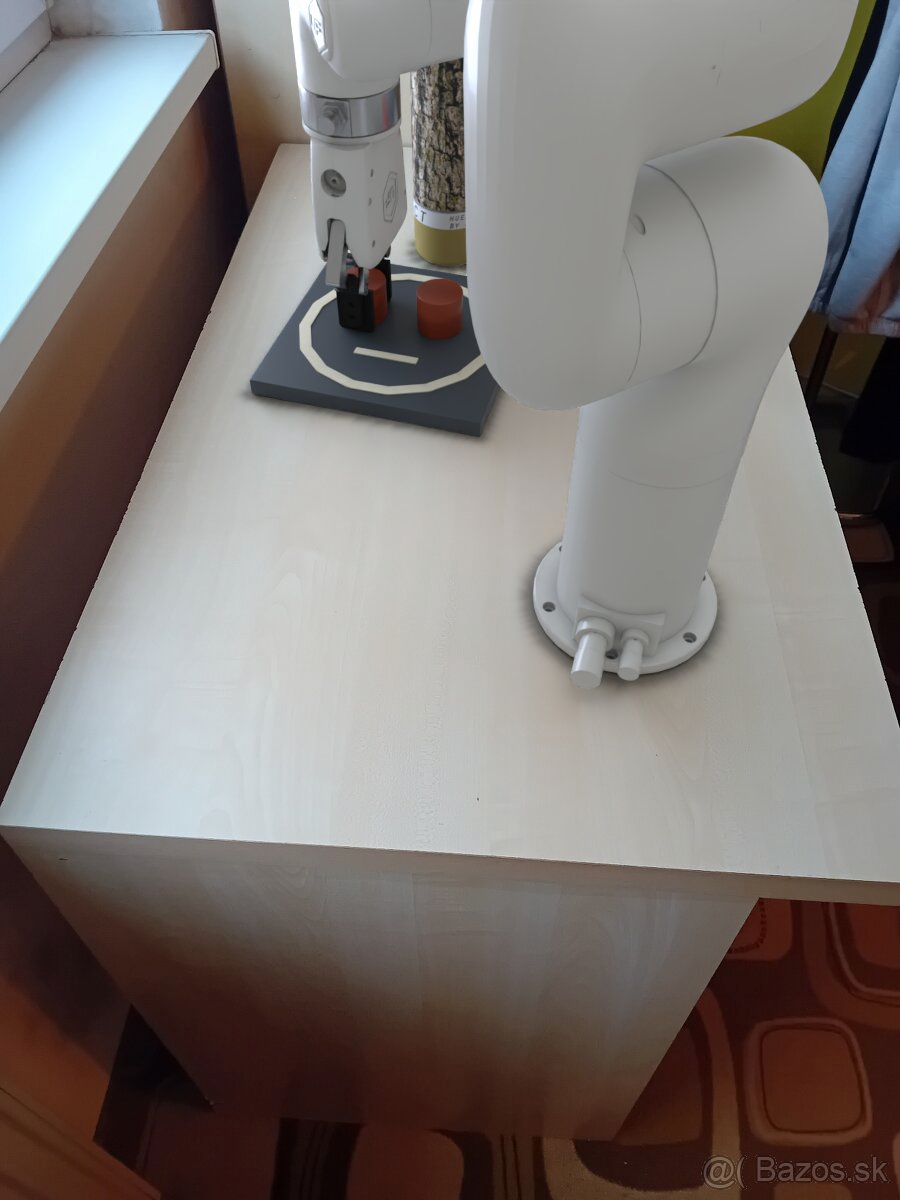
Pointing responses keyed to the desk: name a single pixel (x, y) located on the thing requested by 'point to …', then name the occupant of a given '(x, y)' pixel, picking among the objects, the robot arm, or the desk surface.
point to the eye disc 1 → (376, 292)
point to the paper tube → (439, 162)
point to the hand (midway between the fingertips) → (366, 311)
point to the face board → (381, 361)
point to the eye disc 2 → (439, 308)
